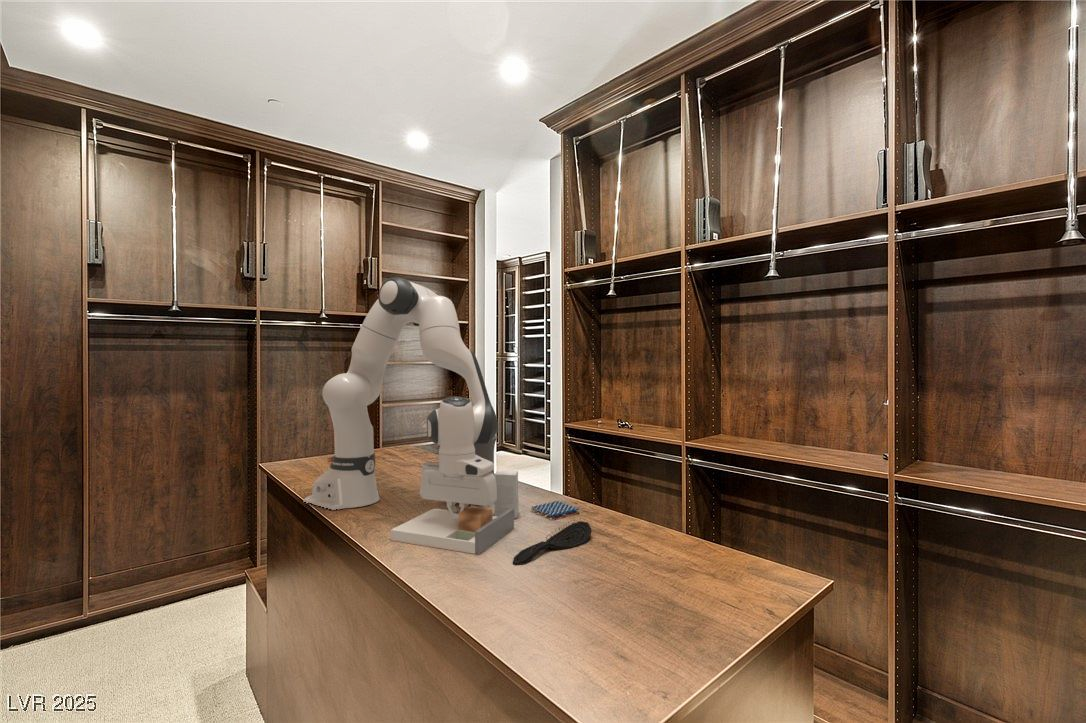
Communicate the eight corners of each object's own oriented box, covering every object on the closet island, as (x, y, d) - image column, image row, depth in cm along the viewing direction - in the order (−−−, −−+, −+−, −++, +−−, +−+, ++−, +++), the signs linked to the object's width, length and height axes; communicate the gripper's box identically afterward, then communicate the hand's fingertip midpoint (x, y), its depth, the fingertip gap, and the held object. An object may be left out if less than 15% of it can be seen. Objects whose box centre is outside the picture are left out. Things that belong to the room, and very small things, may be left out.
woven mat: (557, 506, 149) (557, 499, 149) (581, 515, 141) (581, 508, 141) (528, 513, 143) (528, 505, 143) (551, 523, 135) (551, 515, 135)
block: (458, 529, 121) (458, 512, 121) (471, 521, 127) (471, 505, 127) (480, 532, 119) (480, 515, 119) (492, 524, 124) (492, 508, 124)
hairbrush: (500, 548, 110) (572, 514, 128) (500, 565, 110) (572, 529, 128) (527, 558, 104) (599, 522, 123) (528, 576, 104) (599, 537, 123)
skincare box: (518, 514, 141) (518, 471, 140) (516, 519, 136) (516, 474, 136) (497, 513, 141) (496, 470, 141) (494, 518, 137) (493, 474, 137)
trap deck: (390, 540, 121) (390, 519, 121) (434, 517, 138) (433, 499, 138) (479, 554, 112) (478, 532, 112) (514, 528, 129) (513, 508, 129)
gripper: (414, 463, 126) (414, 518, 126) (487, 469, 118) (487, 528, 118) (429, 458, 131) (429, 511, 132) (499, 464, 124) (500, 520, 124)
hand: (457, 519), depth 125 cm, fingers closed
